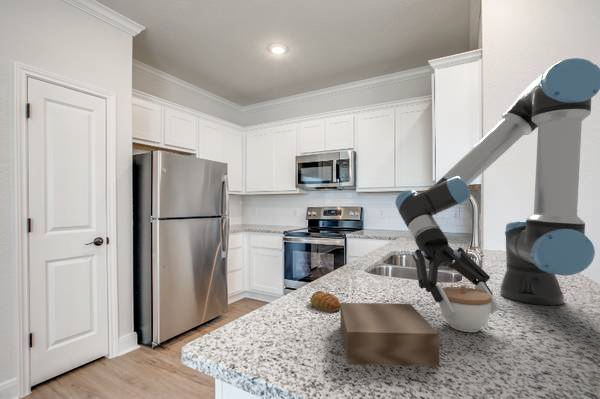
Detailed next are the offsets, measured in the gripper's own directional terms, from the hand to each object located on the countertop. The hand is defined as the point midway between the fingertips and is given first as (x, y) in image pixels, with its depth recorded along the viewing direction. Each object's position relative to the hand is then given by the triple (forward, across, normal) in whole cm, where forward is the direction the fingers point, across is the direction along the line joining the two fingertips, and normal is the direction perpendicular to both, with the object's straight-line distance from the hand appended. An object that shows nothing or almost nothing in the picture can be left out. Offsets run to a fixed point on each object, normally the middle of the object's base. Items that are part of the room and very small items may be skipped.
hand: (473, 312), depth 65 cm
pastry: (-14, +27, -20) cm, 36 cm away
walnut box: (+4, +22, -3) cm, 23 cm away
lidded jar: (+1, 0, -5) cm, 5 cm away
